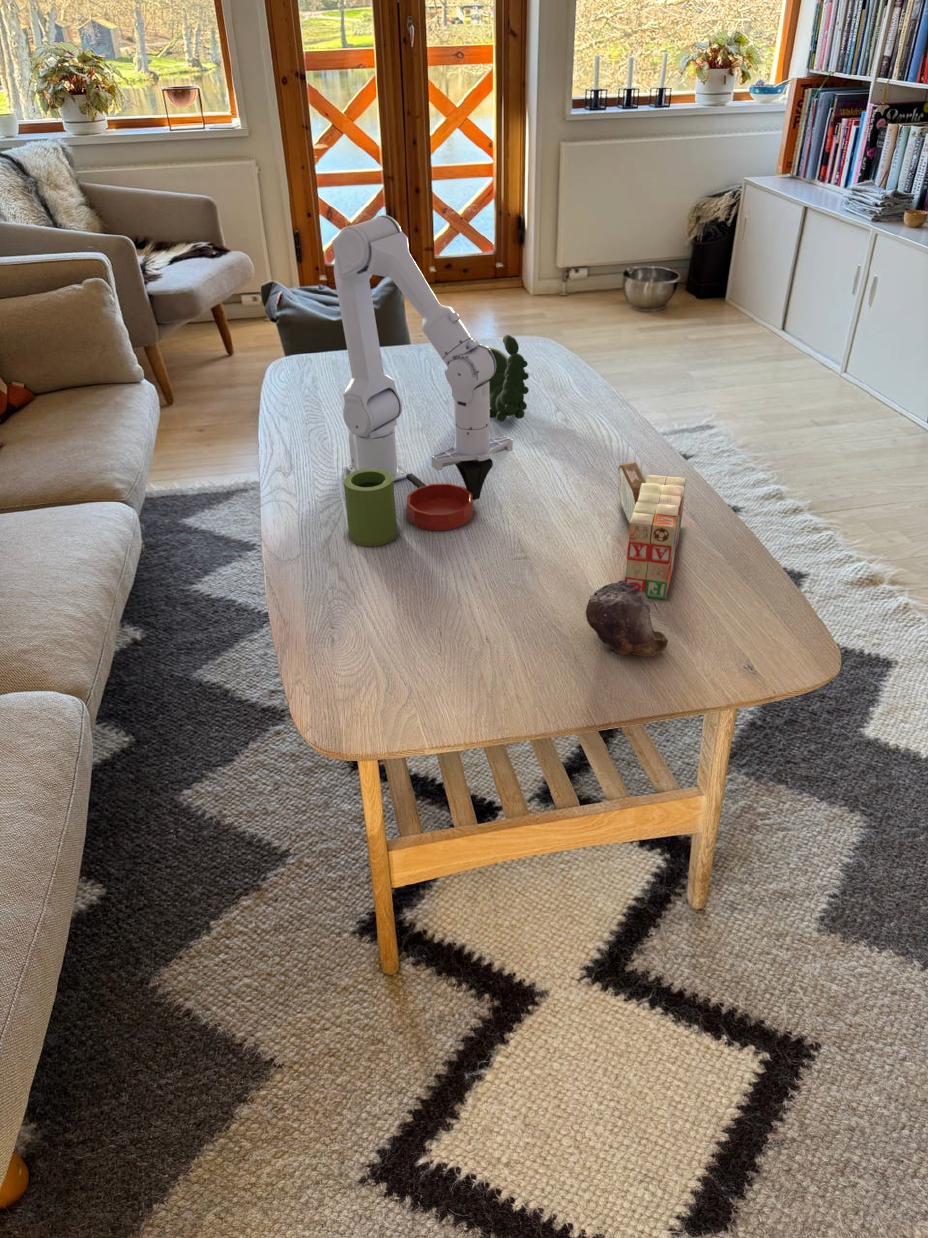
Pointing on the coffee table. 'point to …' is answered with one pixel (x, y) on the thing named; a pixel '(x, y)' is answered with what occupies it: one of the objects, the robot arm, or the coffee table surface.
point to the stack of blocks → (655, 534)
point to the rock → (624, 620)
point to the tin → (629, 487)
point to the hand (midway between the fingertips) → (473, 497)
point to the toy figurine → (508, 382)
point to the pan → (438, 505)
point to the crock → (370, 506)
